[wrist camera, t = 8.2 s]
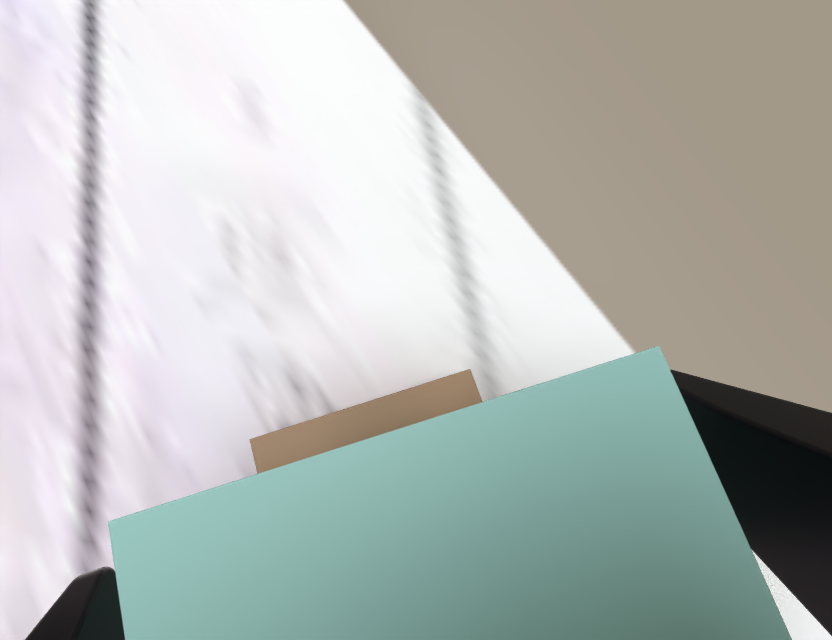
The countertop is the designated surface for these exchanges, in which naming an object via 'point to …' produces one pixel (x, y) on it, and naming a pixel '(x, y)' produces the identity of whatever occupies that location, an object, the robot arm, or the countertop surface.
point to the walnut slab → (364, 421)
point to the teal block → (466, 531)
